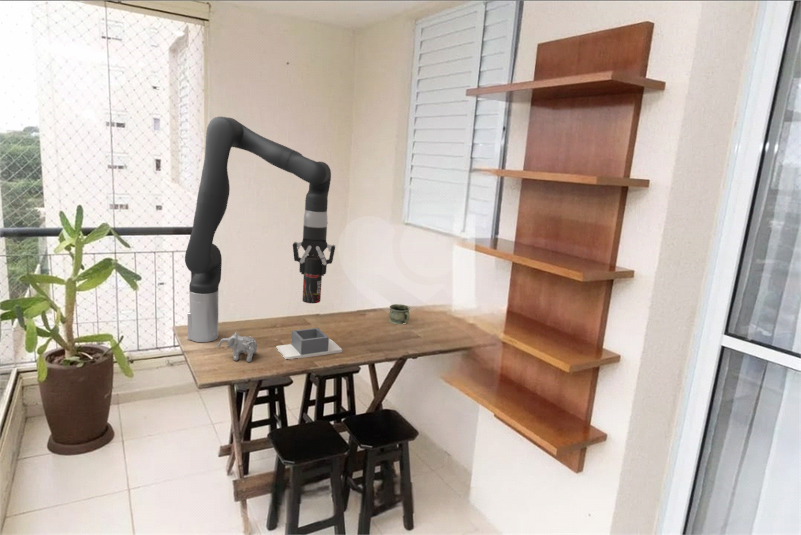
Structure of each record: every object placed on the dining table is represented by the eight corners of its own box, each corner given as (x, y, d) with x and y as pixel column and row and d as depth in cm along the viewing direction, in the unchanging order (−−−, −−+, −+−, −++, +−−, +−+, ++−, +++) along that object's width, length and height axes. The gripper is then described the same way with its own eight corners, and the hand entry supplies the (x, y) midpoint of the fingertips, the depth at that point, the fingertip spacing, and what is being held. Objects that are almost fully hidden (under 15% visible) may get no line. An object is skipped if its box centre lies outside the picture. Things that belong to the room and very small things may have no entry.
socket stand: (285, 360, 164) (286, 343, 162) (276, 348, 172) (276, 332, 170) (342, 352, 174) (343, 335, 172) (330, 341, 182) (331, 325, 181)
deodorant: (316, 304, 165) (319, 260, 162) (299, 301, 166) (301, 257, 163) (322, 299, 171) (325, 256, 168) (306, 297, 172) (308, 254, 169)
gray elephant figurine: (258, 363, 161) (260, 340, 159) (218, 364, 156) (219, 341, 154) (254, 352, 169) (256, 330, 167) (216, 352, 164) (218, 330, 163)
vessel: (415, 324, 208) (417, 309, 207) (399, 327, 202) (401, 313, 201) (397, 315, 217) (398, 301, 215) (381, 318, 211) (382, 304, 210)
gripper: (291, 224, 158) (289, 276, 162) (337, 228, 160) (333, 279, 164) (294, 221, 166) (292, 270, 170) (338, 224, 167) (335, 273, 171)
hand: (312, 274), depth 167 cm, fingers closed on deodorant, 6 cm apart
